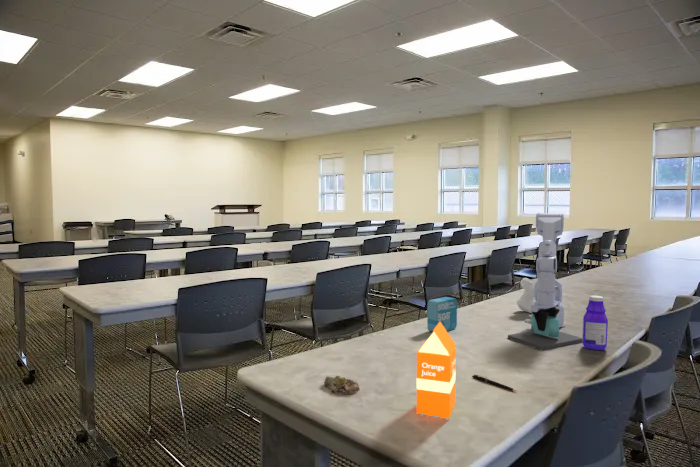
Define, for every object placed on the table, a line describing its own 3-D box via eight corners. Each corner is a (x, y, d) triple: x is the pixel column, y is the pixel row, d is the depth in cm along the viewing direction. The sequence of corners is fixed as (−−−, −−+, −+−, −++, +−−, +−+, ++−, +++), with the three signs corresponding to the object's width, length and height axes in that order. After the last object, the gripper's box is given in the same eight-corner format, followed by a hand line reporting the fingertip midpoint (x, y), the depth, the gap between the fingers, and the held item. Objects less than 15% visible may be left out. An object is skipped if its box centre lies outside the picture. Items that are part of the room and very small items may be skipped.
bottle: (605, 346, 157) (606, 295, 156) (608, 352, 151) (610, 298, 150) (581, 344, 159) (582, 294, 158) (583, 349, 154) (584, 297, 153)
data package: (436, 334, 173) (436, 302, 172) (427, 331, 177) (427, 300, 176) (457, 328, 181) (457, 297, 180) (447, 326, 184) (447, 296, 183)
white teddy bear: (530, 309, 212) (531, 276, 211) (548, 314, 202) (549, 280, 201) (512, 310, 209) (513, 277, 208) (529, 316, 198) (530, 281, 198)
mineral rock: (367, 379, 124) (349, 380, 118) (365, 396, 123) (347, 398, 117) (336, 372, 130) (317, 372, 124) (334, 388, 130) (315, 389, 123)
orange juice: (415, 414, 108) (416, 328, 107) (424, 399, 116) (424, 319, 115) (450, 419, 105) (451, 332, 104) (456, 404, 113) (456, 322, 112)
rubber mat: (547, 331, 176) (548, 328, 176) (583, 341, 162) (583, 338, 162) (507, 338, 167) (507, 335, 167) (541, 350, 154) (541, 346, 154)
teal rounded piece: (529, 328, 172) (529, 311, 172) (561, 335, 162) (561, 318, 162) (522, 329, 170) (523, 313, 169) (554, 337, 160) (555, 320, 159)
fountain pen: (519, 393, 120) (520, 388, 120) (517, 395, 119) (517, 389, 119) (473, 377, 131) (473, 372, 131) (470, 378, 130) (470, 373, 130)
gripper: (547, 287, 171) (546, 323, 172) (523, 291, 163) (522, 330, 164) (565, 289, 165) (565, 327, 166) (541, 294, 157) (540, 334, 158)
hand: (545, 329), depth 165 cm, fingers closed on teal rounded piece, 4 cm apart
